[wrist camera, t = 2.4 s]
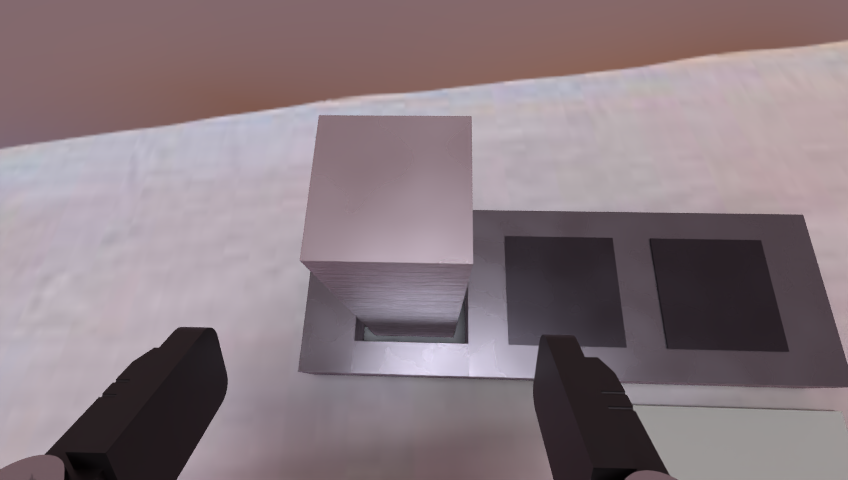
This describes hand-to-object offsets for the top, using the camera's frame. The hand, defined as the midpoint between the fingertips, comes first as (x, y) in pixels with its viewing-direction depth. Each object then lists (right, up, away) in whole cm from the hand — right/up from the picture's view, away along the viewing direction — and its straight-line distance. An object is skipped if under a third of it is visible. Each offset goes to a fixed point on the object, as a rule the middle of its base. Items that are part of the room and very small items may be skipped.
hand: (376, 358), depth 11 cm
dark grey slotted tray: (+8, 0, +12) cm, 14 cm away
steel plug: (+1, 0, +12) cm, 12 cm away
